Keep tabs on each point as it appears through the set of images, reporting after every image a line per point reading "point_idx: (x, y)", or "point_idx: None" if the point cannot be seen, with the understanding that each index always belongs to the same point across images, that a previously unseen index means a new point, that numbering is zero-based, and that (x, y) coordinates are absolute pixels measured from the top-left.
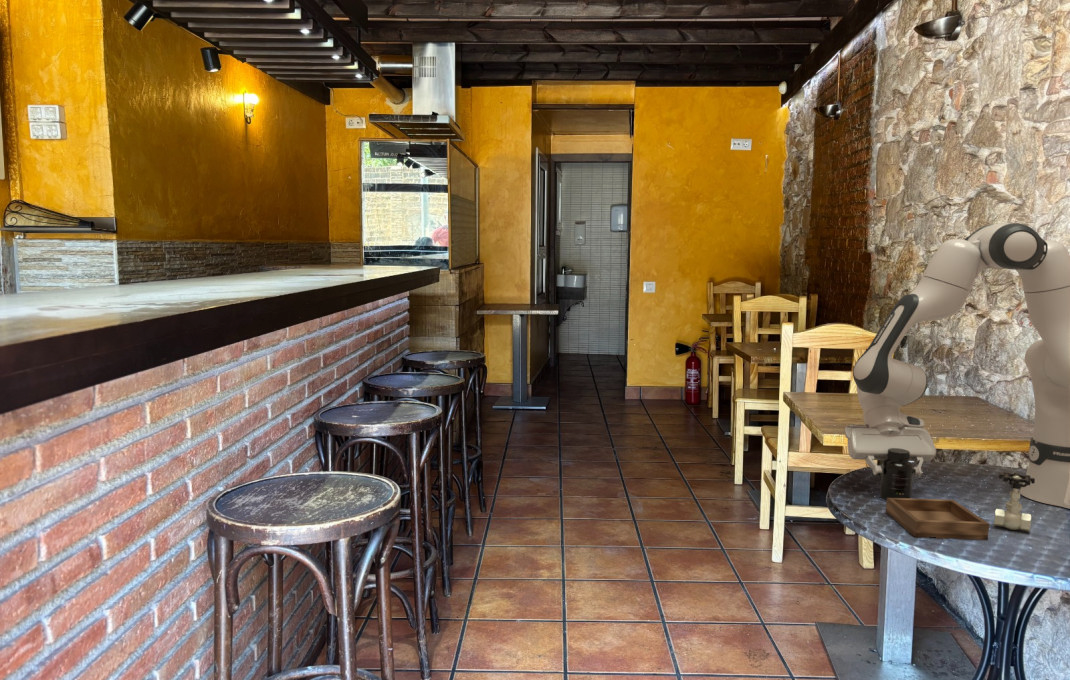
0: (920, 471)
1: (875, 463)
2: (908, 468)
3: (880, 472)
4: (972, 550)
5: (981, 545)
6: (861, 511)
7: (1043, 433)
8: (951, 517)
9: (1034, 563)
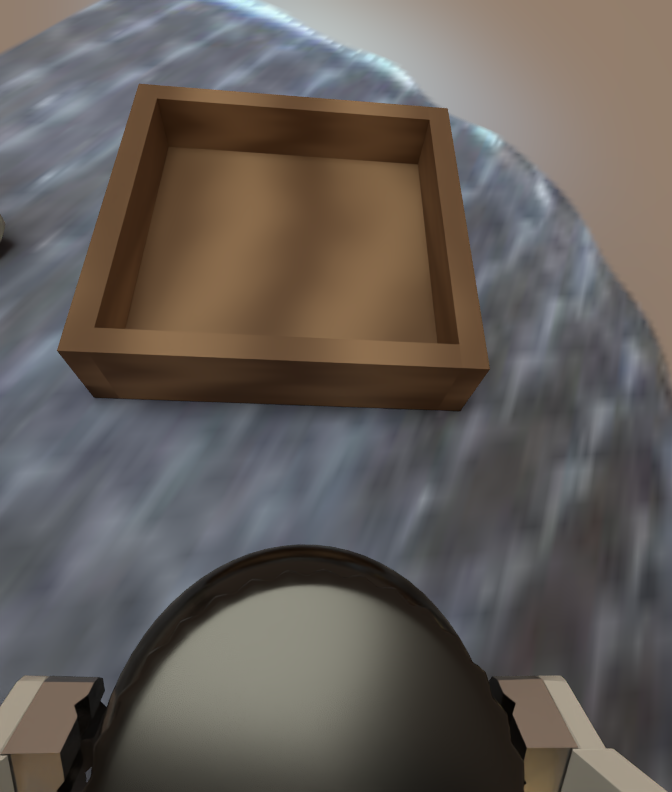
0: (27, 690)
1: (609, 774)
2: (241, 559)
3: (508, 678)
4: (278, 92)
5: None
6: (583, 421)
7: None
8: (172, 289)
9: (143, 28)
